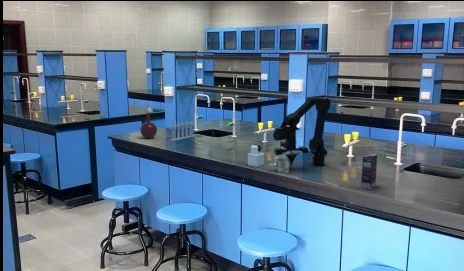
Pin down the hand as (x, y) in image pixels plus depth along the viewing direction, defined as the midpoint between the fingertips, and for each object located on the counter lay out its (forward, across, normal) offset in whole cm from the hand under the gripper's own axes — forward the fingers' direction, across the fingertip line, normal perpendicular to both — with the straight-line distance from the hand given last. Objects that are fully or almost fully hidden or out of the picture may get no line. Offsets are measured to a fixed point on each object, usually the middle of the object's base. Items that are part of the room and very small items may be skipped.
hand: (291, 165), depth 237 cm
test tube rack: (+1, +57, -105) cm, 119 cm away
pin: (+1, +7, 0) cm, 7 cm away
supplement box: (+4, -28, +37) cm, 47 cm away
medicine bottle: (+2, +18, -13) cm, 22 cm away
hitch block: (+2, +6, 0) cm, 6 cm away
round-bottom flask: (0, +83, -109) cm, 137 cm away
